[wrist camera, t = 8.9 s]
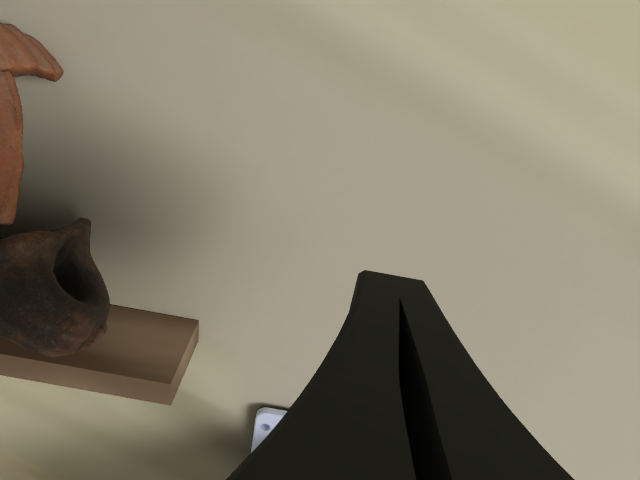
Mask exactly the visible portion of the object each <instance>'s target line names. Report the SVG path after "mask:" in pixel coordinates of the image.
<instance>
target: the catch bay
mask: <svg viewBox="0 0 640 480" xmlns="http://www.w3.org/2000/svg"><path fill="white" fill-rule="evenodd" d="M198 328H199V321H197V320H192V319H186V318H181V317H175V316H169V315H164V314H158V313H153V312H147V311H142V310H136V309H131V308H125V307H119V306H114V305H110V309H109V314H108V318H107V331H106V333H105V334H104V335H103V336H102V337H101V338H100V339H99V340H98V341H97V342H96V343H95V344H94V345H92V346H91V347H89V348H87V349H82V350H80V351H79V352H76V353H72V354H67V355H63V356H57V357H49V356H46V355H44V354H42V353H37V352H32V351H30V350H27V349H25V348H22V347H21V346H19V345H18V344H16V343H14V342H12V341H10V340H8V339H5V338H3V337H1V336H0V375H4V376H9V377H15V378H20V379H26V380H31V381H37V382H43V383H48V384H54V385H59V386H65V387H71V388H76V389H82V390H87V391H93V392H99V393H104V394H110V395H115V396H121V397H126V398H132V399H138V400H143V401H149V402H154V403H160V404H166V405H171V404H172V401H173V399H174V397H175V394H176V392H177V390H178V387H179V385H180V383H181V380H182V378H183V375H184V373H185V371H186V368H187V366H188V364H189V361H190V359H191V357H192V354H193V352H194V349H195V347H196V345H197V342H198Z"/></svg>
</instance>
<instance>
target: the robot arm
mask: <svg viewBox="0 0 640 480" xmlns="http://www.w3.org/2000/svg"><path fill="white" fill-rule="evenodd" d="M226 480H574V479H573V478H572V477H571V476H570V475H569V474H568V473H567V472H566V471H565V470H564V469H563V468H562V467H561V466H560V465H559V464H558V463H557V462H556V461H555V460H554V459H553V458H552V456H551V455H550V454H549V453H548V452H547V451H546V450H545V449H544V448H543V447H542V446H541V445H540V444H539V443H538V441H537V440H536V439H535V438H534V437H533V436H532V435H531V433H530V432H529V431H528V430H527V429H526V428H525V427H524V425H523V424H522V423H521V422H520V421H519V420H518V419H517V417H516V416H515V415H514V414H513V413H512V412H511V410H510V409H509V408H508V407H507V405H506V404H505V403H504V402H503V400H502V399H501V398H500V397H499V395H498V394H497V393H496V391H495V390H494V389H493V387H492V386H491V385H490V383H489V382H488V381H487V379H486V378H485V377H484V375H483V374H482V373H481V371H480V370H479V368H478V367H477V366H476V364H475V363H474V361H473V360H472V358H471V357H470V355H469V354H468V352H467V351H466V349H465V348H464V346H463V345H462V343H461V342H460V340H459V339H458V337H457V336H456V334H455V332H454V331H453V329H452V328H451V326H450V324H449V323H448V321H447V319H446V318H445V316H444V315H443V313H442V311H441V309H440V308H439V306H438V304H437V303H436V301H435V299H434V298H433V296H432V294H431V293H430V291H429V289H428V288H427V286H426V284H425V283H424V281H422V280H417V279H411V278H406V277H400V276H395V275H389V274H384V273H378V272H373V271H367V270H364V271H363V272H361V273H359V274H358V278H357V282H356V286H355V290H354V294H353V298H352V302H351V306H350V310H349V313H348V315H347V318H346V320H345V322H344V324H343V326H342V328H341V330H340V332H339V334H338V336H337V338H336V340H335V341H334V343H333V345H332V347H331V348H330V350H329V352H328V354H327V355H326V357H325V359H324V360H323V362H322V364H321V365H320V367H319V368H318V370H317V371H316V373H315V374H314V376H313V377H312V379H311V380H310V382H309V383H308V385H307V386H306V387H305V389H304V390H303V392H302V393H301V394H300V396H299V397H298V398H297V400H296V401H295V402H294V404H293V405H292V406H291V407H290V409H289V410H288V411H284V410H279V409H273V408H266V407H264V408H260V409H259V410H258V411H257V414H256V418H255V425H254V433H253V440H252V448H251V454H250V455H249V456H248V457H247V458H246V459H245V460H244V461H243V462H242V463H241V465H240V466H239V467H238V468H237V469H236V470H235V471H234V472H233V473H232V474H231V475H230V476H229V477H228V478H227V479H226Z"/></svg>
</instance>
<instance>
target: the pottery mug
mask: <svg viewBox="0 0 640 480" xmlns="http://www.w3.org/2000/svg"><path fill="white" fill-rule="evenodd" d="M24 75H31V76H37V77H40V78H45V79H47V80H50V81H57V80H59V79H60V78H61V77H62V75H63V69H62V68H61V66H60V65H59V64H58V62H57V61H56V59H55V58H54V57H53V56H52V55H51V54H50V53H49V52H48V51H47V50H46V49H45V47H44V46H43V45H42V44H41V43H40V42H39V41H37V40H36V39H35V38H33V37H32V36H29V35H27V34H24V33H22V32H21V31H20V30H19V29H18V28H17V27H15V26H14V25H12V24H2V23H0V224H1V225H11V224H12V223H13V222H14V219H15V216H16V212H17V204H18V197H19V191H20V181H21V178H22V173H23V167H24V163H23V154H22V134H23V115H22V106H21V102H20V97H19V94H18V89H17V86H16V83H15V79H14V77H16V76H24ZM90 227H91V222H90V220H88V219H86V218H79V219H77V220H76V221H75V222H73V223H72V224H71V225H70V226H67V227H65V228H62V229H61V230H57V231H53V232H48V231H32V232H27V233H19V234H15V235H11V236H7V237H5V238H2V239H1V240H0V336H1V337H3V338H5V339H8V340H10V341H12V342H14V343H16V344H18V345H19V346H21V347H22V348H25V349H27V350H30V351H32V352H37V353H42V354H44V355H46V356H49V357H57V356H63V355H67V354H72V353H76V352H79V351H80V350H82V349H87V348H89V347H91V346H92V345H94V344H95V343H96V342H97V341H98V340H99V339H100V338H101V337H102V336H103V335H104V334H105V333H106V331H107V318H108V314H109V309H110V301H109V295H108V291H107V289H106V286H105V283H104V281H103V278H102V276H101V274H100V272H99V270H98V269H97V267H96V265H95V263H94V261H93V259H92V257H91V254H90V234H91V231H90Z"/></svg>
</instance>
